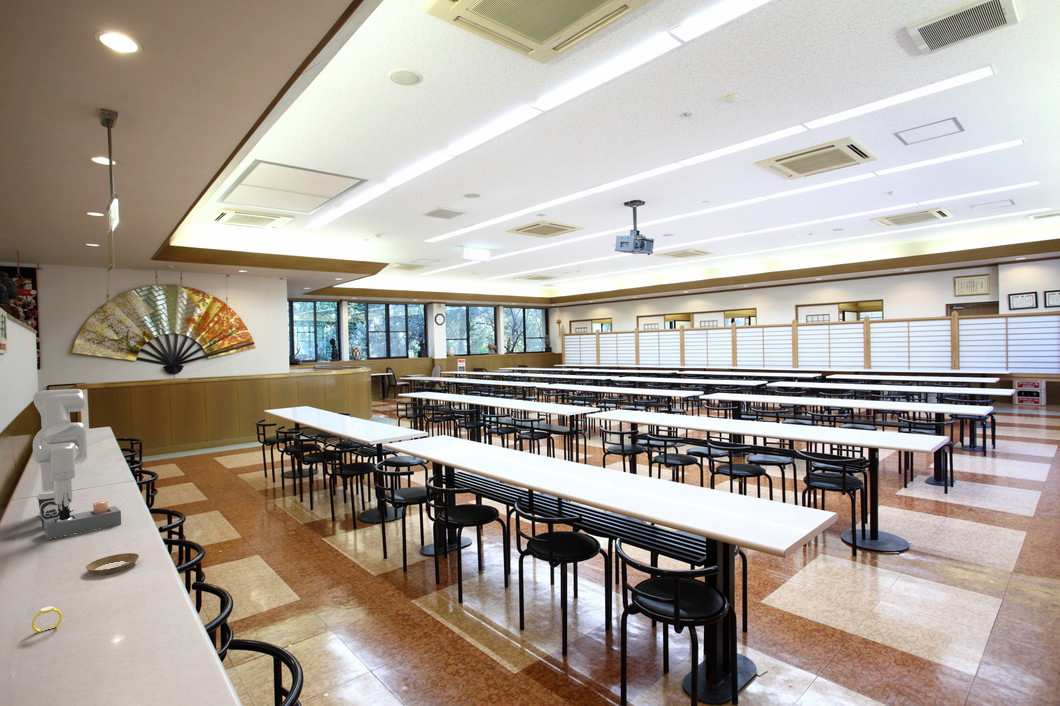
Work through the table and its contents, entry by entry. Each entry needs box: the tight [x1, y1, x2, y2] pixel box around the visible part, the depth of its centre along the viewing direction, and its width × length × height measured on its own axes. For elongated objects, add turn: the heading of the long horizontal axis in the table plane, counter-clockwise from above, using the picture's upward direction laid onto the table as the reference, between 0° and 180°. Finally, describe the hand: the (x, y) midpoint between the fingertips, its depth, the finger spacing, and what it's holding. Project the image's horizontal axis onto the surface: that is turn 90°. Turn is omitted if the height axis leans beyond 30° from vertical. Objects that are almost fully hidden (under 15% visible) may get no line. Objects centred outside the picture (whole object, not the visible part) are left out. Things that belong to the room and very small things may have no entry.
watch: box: [31, 605, 63, 633], centre depth 143 cm, size 6×3×6 cm, turn 130°
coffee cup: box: [36, 490, 60, 528], centre depth 232 cm, size 10×10×15 cm
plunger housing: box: [43, 505, 122, 540], centre depth 226 cm, size 11×24×6 cm, turn 139°
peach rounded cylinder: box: [92, 500, 109, 515], centre depth 230 cm, size 5×5×6 cm
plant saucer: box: [85, 552, 140, 576], centre depth 184 cm, size 15×15×3 cm
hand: (64, 518), depth 221 cm, fingers closed
